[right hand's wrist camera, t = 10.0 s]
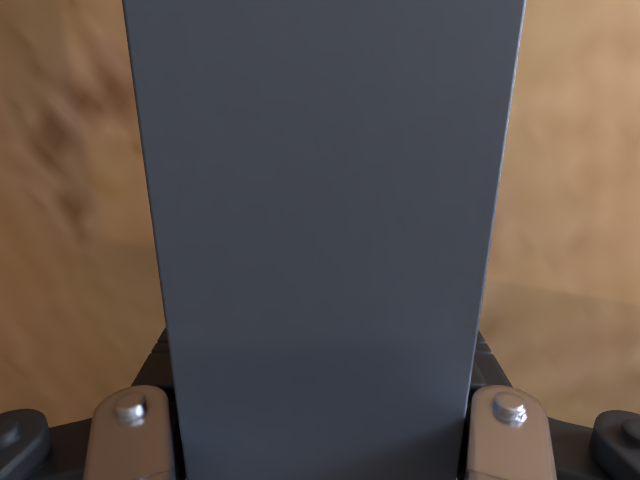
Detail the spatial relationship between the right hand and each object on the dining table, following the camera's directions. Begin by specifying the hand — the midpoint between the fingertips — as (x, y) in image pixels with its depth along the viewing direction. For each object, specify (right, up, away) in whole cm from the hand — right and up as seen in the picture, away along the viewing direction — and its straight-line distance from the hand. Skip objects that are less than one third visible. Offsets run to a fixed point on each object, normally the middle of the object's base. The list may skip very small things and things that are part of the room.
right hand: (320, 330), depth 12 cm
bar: (0, +25, -6) cm, 26 cm away
